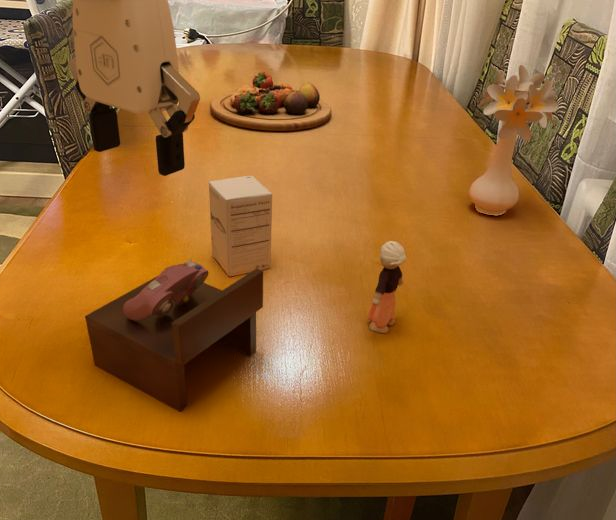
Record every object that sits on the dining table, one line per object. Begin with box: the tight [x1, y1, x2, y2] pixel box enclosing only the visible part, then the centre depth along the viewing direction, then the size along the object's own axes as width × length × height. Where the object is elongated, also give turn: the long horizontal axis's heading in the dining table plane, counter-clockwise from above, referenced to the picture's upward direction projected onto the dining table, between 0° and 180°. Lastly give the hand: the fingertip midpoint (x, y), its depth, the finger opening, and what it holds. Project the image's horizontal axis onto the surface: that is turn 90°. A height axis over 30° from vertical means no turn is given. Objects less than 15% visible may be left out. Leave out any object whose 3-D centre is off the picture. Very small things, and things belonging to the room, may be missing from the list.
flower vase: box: [468, 64, 559, 214], centre depth 109 cm, size 13×18×25 cm
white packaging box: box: [208, 175, 273, 277], centre depth 92 cm, size 7×7×13 cm
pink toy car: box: [123, 259, 210, 321], centre depth 70 cm, size 10×5×7 cm, turn 148°
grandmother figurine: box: [367, 240, 407, 334], centre depth 80 cm, size 8×4×13 cm, turn 159°
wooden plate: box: [209, 71, 332, 132], centre depth 158 cm, size 32×32×8 cm
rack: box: [84, 269, 264, 412], centre depth 72 cm, size 15×14×12 cm
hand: (138, 159), depth 65 cm, fingers open, 9 cm apart
